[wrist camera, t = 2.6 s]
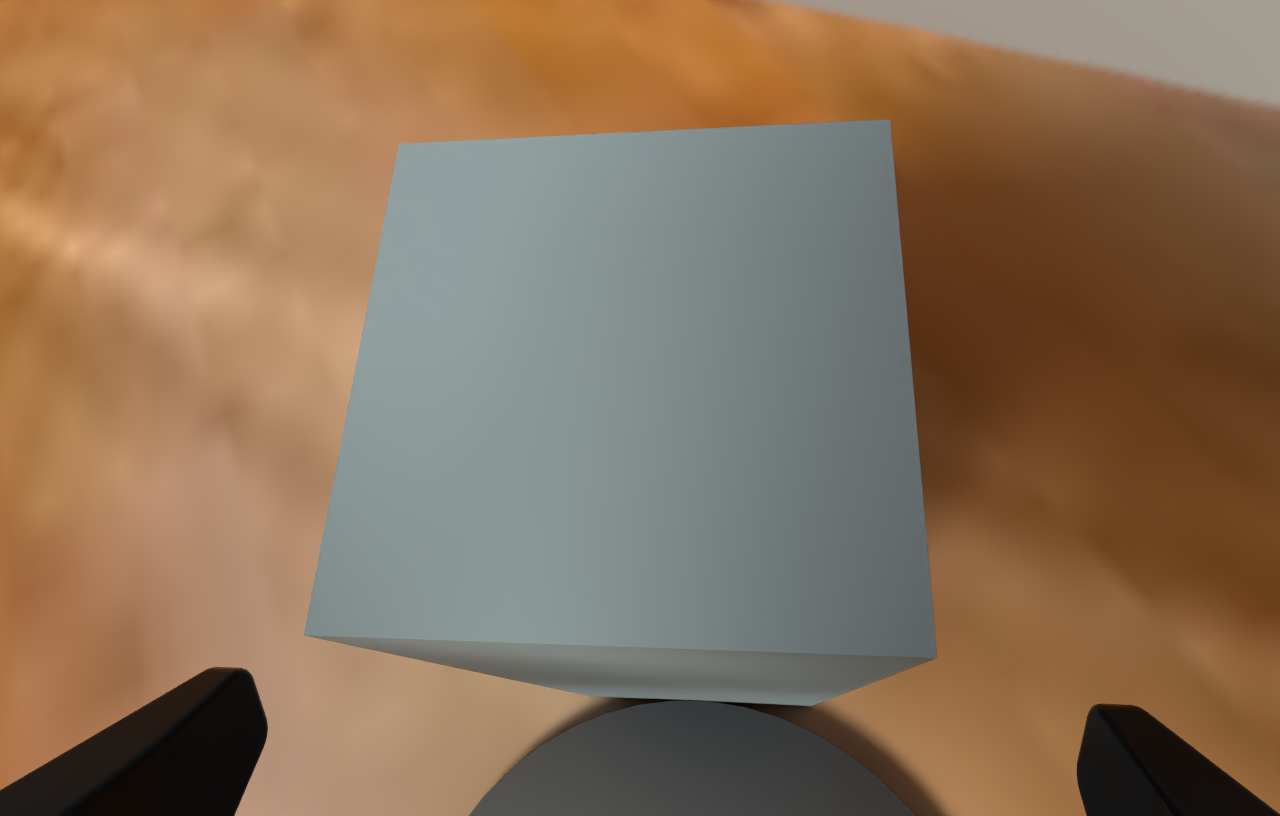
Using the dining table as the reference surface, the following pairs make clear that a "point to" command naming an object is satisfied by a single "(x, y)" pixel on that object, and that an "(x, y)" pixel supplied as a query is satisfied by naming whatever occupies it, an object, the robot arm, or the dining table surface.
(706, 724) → the rubber mat
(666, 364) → the painted block
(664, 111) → the dining table surface
